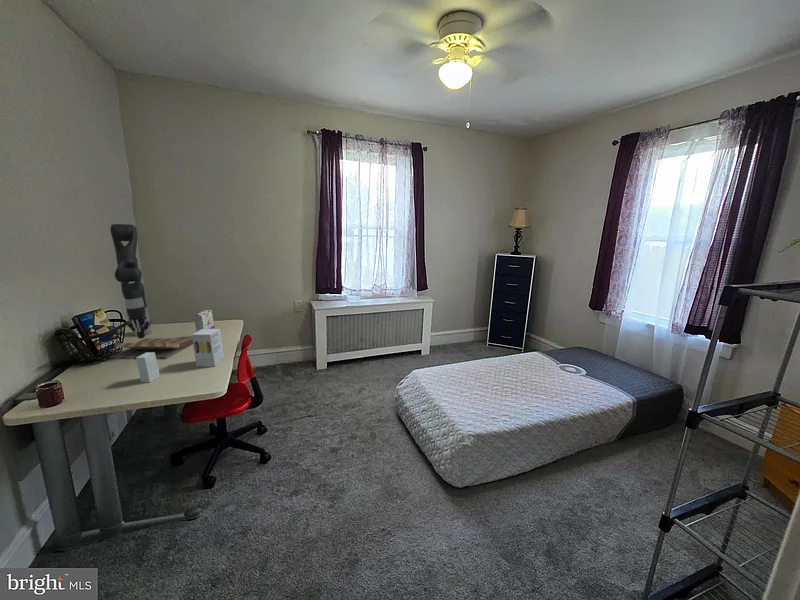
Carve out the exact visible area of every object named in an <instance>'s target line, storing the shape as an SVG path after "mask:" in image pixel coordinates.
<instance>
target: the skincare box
mask: <svg viewBox="0 0 800 600" xmlns="http://www.w3.org/2000/svg"><path fill="white" fill-rule="evenodd" d="M135 360H136V365H137V368H138V373H139V374H138V375H139V378H140V381H141V383H151V382H153V381H155V380H156V379H158V378H160V376H161V375H160V372H159V366H158V363H157V362H158V361H157V359H156V356H155V352H146V353H144V354H142V355H140V356H138V357H136V359H135ZM154 379H155V380H154Z"/></svg>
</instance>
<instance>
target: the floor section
mask: <svg viewBox="0 0 800 600" xmlns="http://www.w3.org/2000/svg"><path fill="white" fill-rule="evenodd" d="M135 343H172V344H180V346H179V348H126V349H125V350H123V351H121V352H119V353H116V354H113V355H112V356H109V357H110V360H117V359H118V360H122V359H123V360H136V357H138V356H140V355H142V354H144V353H146V352H155V356H156V360H167V359H168V358H170V357H172V356H174V355H176V354H177V353H179V352H181V351H182V350H185V349H188V347H190V346H192V345H193V339H192V337H191V338H188V337H187V338H186V337H185V338H181V337H180V338H179V337H178V338H177V337H176V338H170V337H167V338H161V337H160V338H157V337H156V338H152V337H151V338H142V339H141V340H139V341H137V342H135Z"/></svg>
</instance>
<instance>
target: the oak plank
mask: <svg viewBox="0 0 800 600" xmlns="http://www.w3.org/2000/svg"><path fill="white" fill-rule="evenodd" d="M179 346H180V344H172V343H136V342H115V344H114V348H126V349H129V348H179Z"/></svg>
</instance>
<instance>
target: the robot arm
mask: <svg viewBox="0 0 800 600" xmlns="http://www.w3.org/2000/svg"><path fill="white" fill-rule="evenodd" d="M110 235H111V239H112V242H113V246H114V250H115V257H116V264H117V266H116V269H115V271H114V278H115V280H116V281H117V282H119V283H120V286H121V287H120V288H121V294H122V296H123V298H124V305H125V309H126V314H127V315H126V316H127V317H128V320H127V321H124V323H125V325H126V326H127V327H128V328H129V329H130V330H131V334H132V336H135V337H137V339H141V340H143V339H145V337H146V336H147V335H150V334H152V333H153V330H152V325H151V323H152V320H151V319H150V315H149V310H148V304H147V301H146V300H147V299H146V294H145V293H146V291H145V287H144V286H145V285H144V284H143V283H142V277H143V274H142V271H141V269H140V268H139V264H138V258H137V257H136V256H137V255H136V252H137V247H138V231H137V227H136V225H134V224H127V223H126V224H125V223H114V224H111V225H110ZM123 242H127V244H126V245H124V244H123Z"/></svg>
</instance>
